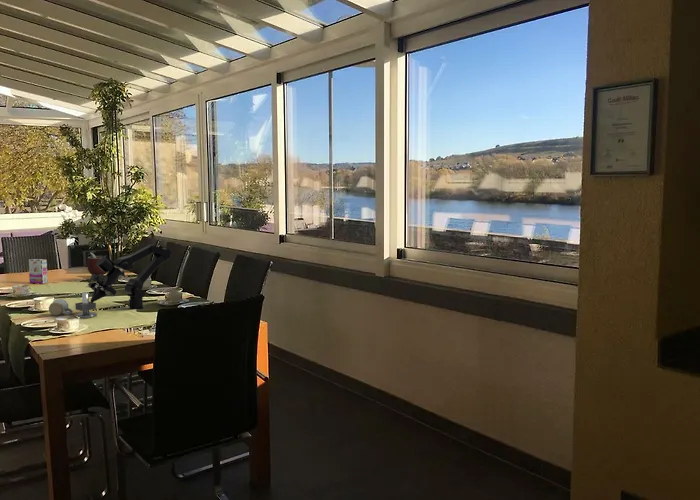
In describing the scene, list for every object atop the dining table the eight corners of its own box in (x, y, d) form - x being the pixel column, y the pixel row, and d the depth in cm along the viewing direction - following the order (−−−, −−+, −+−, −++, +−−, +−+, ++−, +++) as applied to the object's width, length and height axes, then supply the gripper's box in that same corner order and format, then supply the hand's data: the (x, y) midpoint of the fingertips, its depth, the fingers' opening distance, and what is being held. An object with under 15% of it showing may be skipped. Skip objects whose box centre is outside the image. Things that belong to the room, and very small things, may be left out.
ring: (88, 307, 306) (88, 301, 305) (96, 308, 301) (95, 303, 301) (75, 309, 300) (75, 303, 300) (82, 311, 296) (82, 305, 296)
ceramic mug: (47, 316, 300) (47, 301, 299) (53, 313, 308) (52, 298, 307) (70, 316, 302) (69, 301, 301) (75, 313, 310) (74, 298, 309)
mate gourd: (113, 281, 418) (112, 252, 416) (96, 283, 406) (95, 254, 404) (99, 279, 426) (98, 251, 424) (82, 281, 415) (81, 252, 413)
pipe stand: (90, 313, 308) (89, 290, 307) (100, 315, 302) (99, 292, 301) (71, 316, 300) (70, 292, 299) (81, 319, 294) (80, 295, 293)
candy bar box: (48, 283, 407) (47, 259, 405) (42, 284, 402) (41, 260, 400) (35, 282, 410) (34, 258, 408) (29, 283, 405) (28, 259, 404)
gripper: (90, 266, 311) (70, 290, 304) (109, 269, 300) (89, 294, 292) (105, 279, 318) (86, 303, 310) (124, 283, 306) (105, 307, 299)
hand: (91, 301), depth 303 cm, fingers closed, pressing on ring
